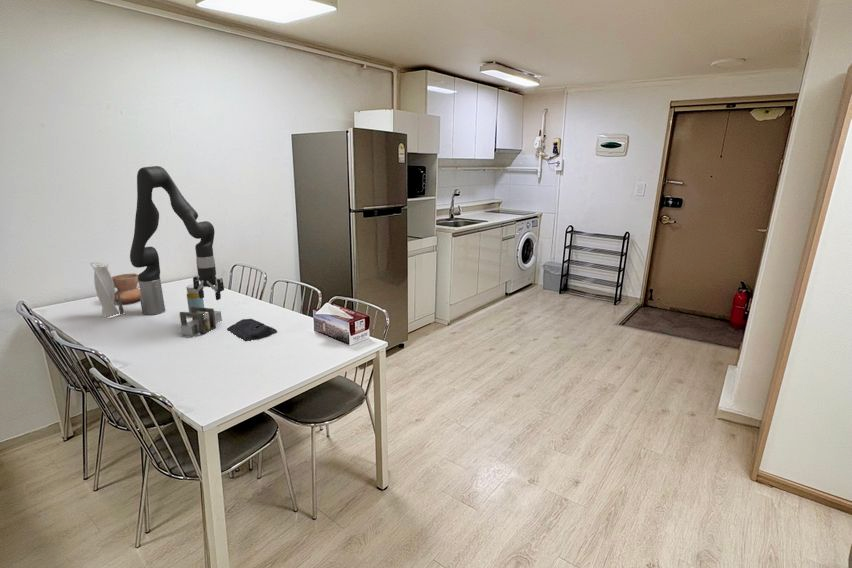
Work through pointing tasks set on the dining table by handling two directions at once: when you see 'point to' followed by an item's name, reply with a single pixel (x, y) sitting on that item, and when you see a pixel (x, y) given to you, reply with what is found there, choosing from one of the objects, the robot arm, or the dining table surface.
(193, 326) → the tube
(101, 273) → the skyscraper
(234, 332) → the dark slate chunk
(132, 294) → the ceramic jug
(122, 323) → the dining table surface
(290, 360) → the dining table surface
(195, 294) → the bottle
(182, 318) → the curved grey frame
